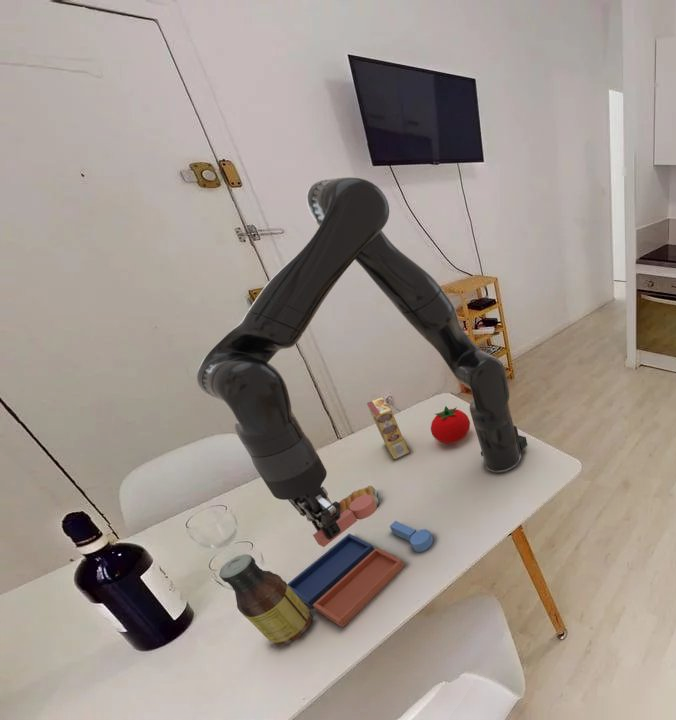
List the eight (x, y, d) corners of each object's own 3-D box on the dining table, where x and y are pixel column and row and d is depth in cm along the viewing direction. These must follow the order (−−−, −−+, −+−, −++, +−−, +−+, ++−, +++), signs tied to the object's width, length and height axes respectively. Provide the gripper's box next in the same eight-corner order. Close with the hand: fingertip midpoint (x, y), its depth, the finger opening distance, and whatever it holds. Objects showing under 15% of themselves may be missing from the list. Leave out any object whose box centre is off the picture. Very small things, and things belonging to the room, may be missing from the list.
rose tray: (379, 553, 88) (376, 547, 87) (404, 566, 85) (401, 560, 84) (316, 611, 77) (312, 605, 76) (342, 628, 75) (338, 622, 74)
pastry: (336, 526, 94) (329, 515, 92) (333, 508, 99) (326, 497, 97) (381, 505, 99) (375, 494, 97) (376, 489, 104) (371, 478, 102)
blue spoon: (388, 537, 91) (384, 530, 90) (403, 524, 94) (400, 516, 93) (422, 554, 87) (418, 546, 86) (437, 539, 90) (433, 531, 89)
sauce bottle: (286, 613, 77) (232, 545, 67) (321, 609, 78) (272, 542, 68) (261, 651, 72) (198, 584, 62) (299, 647, 72) (241, 580, 62)
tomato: (436, 454, 115) (426, 426, 110) (435, 433, 123) (425, 406, 118) (475, 443, 118) (466, 416, 113) (471, 423, 127) (463, 397, 122)
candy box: (410, 453, 116) (392, 409, 108) (394, 460, 113) (374, 416, 106) (400, 438, 121) (382, 396, 114) (384, 445, 119) (365, 402, 111)
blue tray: (352, 539, 91) (349, 533, 90) (375, 551, 88) (372, 545, 87) (288, 592, 81) (283, 586, 80) (312, 608, 78) (307, 602, 77)
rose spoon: (328, 549, 74) (322, 540, 73) (314, 542, 75) (308, 532, 74) (381, 506, 82) (377, 497, 81) (368, 500, 84) (363, 491, 82)
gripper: (338, 460, 68) (373, 530, 76) (290, 439, 73) (328, 506, 81) (289, 492, 62) (333, 563, 70) (240, 466, 67) (286, 536, 75)
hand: (330, 533), depth 76 cm, fingers closed on rose spoon, 1 cm apart
